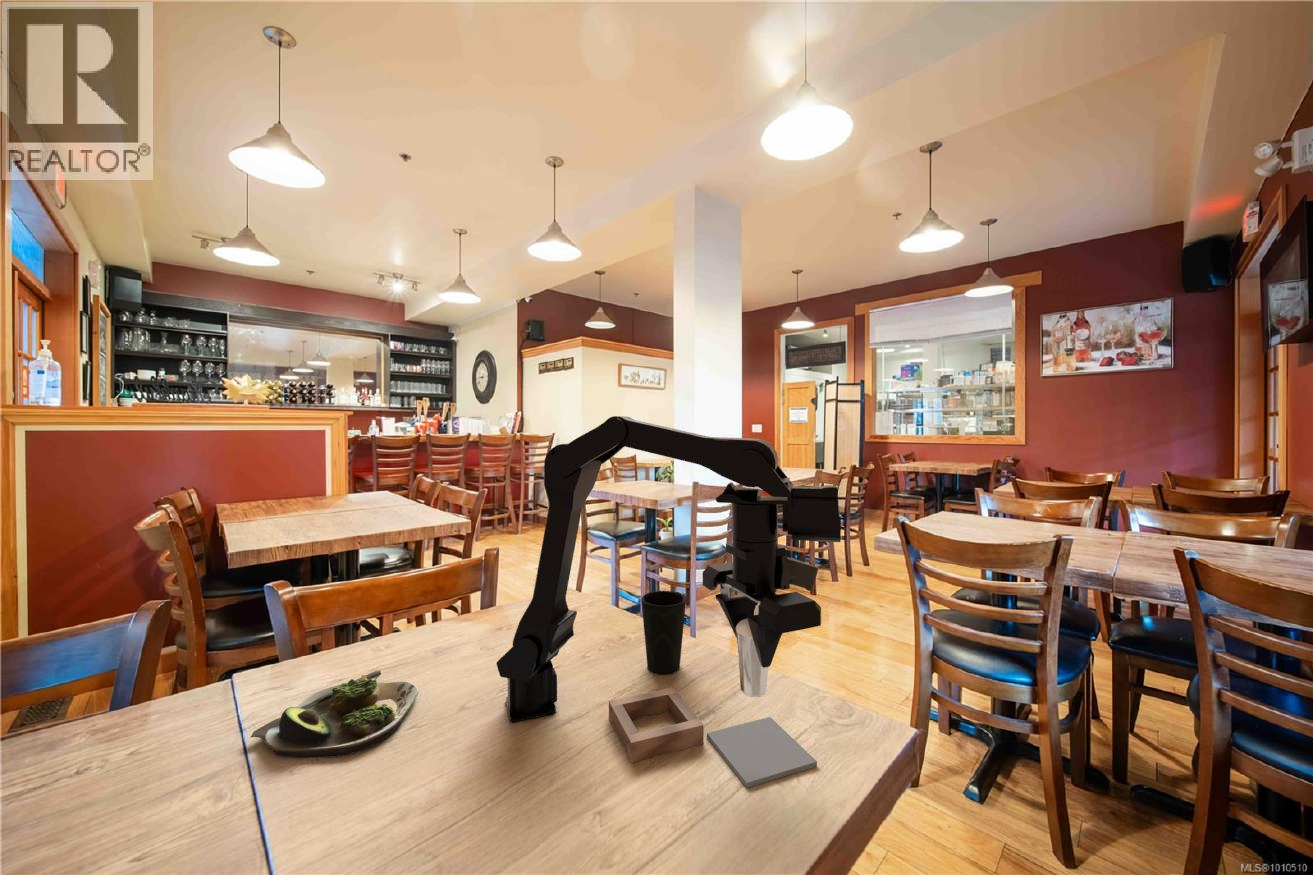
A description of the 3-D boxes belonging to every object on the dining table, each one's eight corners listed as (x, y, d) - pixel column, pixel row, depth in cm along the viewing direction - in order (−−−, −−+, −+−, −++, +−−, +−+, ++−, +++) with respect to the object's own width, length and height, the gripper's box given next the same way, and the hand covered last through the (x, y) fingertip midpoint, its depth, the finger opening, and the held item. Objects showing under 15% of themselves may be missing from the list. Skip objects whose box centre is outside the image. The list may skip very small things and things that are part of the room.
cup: (686, 678, 83) (686, 606, 82) (640, 678, 83) (640, 606, 83) (684, 656, 90) (685, 590, 90) (642, 656, 91) (642, 590, 90)
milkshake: (774, 681, 67) (774, 607, 66) (769, 703, 62) (770, 622, 61) (740, 675, 68) (740, 603, 68) (732, 696, 63) (732, 618, 63)
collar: (631, 762, 62) (631, 742, 62) (608, 718, 72) (608, 701, 72) (703, 743, 66) (703, 724, 66) (673, 703, 75) (673, 687, 75)
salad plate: (327, 682, 82) (327, 654, 82) (438, 680, 83) (438, 653, 83) (232, 763, 63) (230, 727, 63) (377, 760, 63) (376, 724, 63)
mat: (746, 788, 58) (746, 782, 58) (706, 737, 67) (706, 733, 67) (817, 766, 62) (817, 761, 62) (769, 720, 71) (769, 716, 71)
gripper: (858, 547, 58) (859, 680, 59) (766, 519, 76) (767, 622, 76) (777, 558, 54) (779, 701, 55) (700, 526, 71) (701, 635, 72)
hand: (756, 659), depth 64 cm, fingers closed on milkshake, 4 cm apart
